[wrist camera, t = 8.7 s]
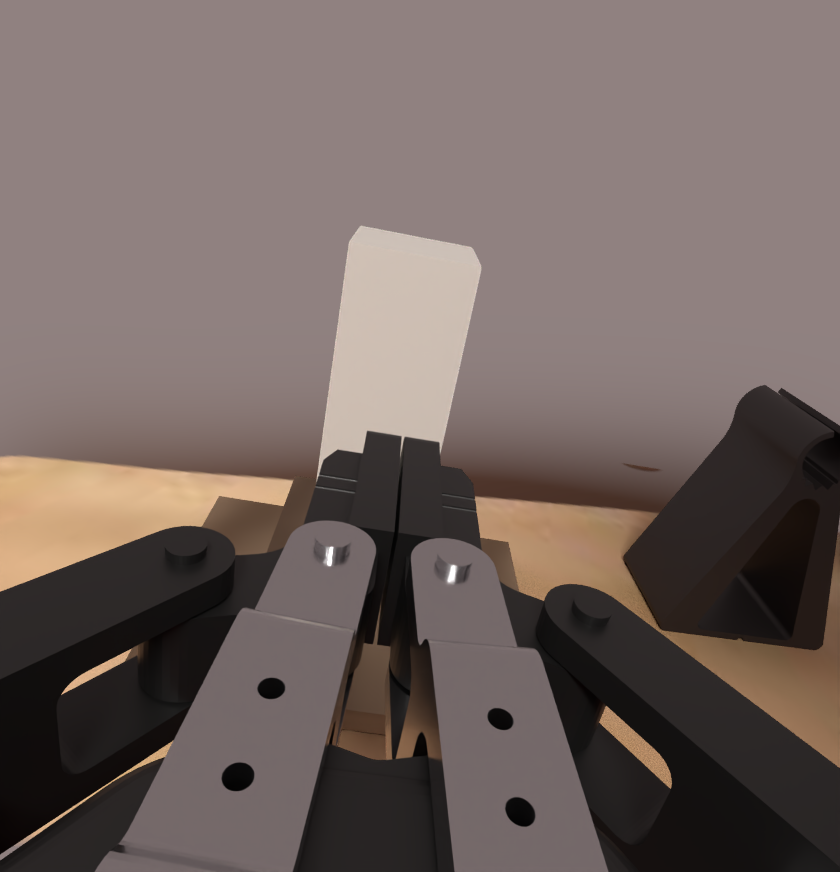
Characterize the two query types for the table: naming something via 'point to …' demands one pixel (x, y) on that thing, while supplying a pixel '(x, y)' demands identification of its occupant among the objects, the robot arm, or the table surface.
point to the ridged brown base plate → (270, 531)
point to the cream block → (398, 338)
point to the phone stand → (750, 531)
